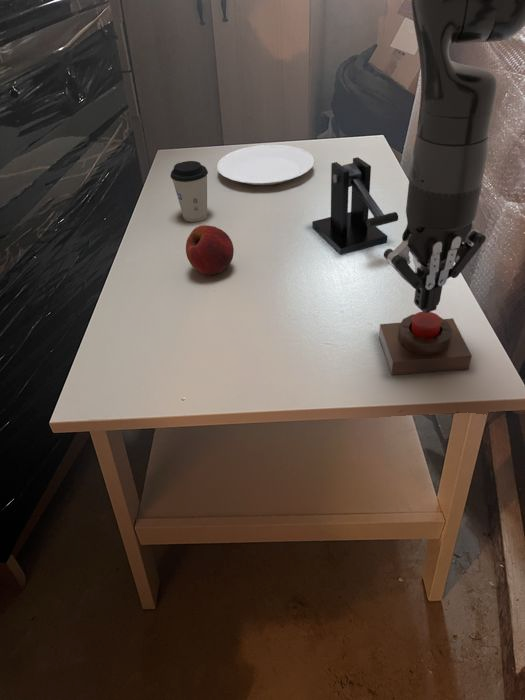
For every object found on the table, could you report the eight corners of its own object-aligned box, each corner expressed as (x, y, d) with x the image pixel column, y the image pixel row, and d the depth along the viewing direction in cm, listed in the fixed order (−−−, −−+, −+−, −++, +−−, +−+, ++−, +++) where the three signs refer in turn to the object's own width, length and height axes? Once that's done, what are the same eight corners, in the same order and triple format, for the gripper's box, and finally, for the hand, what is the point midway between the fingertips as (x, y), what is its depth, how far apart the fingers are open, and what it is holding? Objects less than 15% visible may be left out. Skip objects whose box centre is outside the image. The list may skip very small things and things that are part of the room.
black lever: (396, 225, 93) (400, 213, 91) (368, 232, 91) (371, 221, 89) (358, 172, 99) (361, 160, 97) (332, 178, 98) (334, 166, 96)
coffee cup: (217, 208, 115) (211, 158, 109) (208, 225, 110) (201, 174, 103) (183, 207, 116) (175, 158, 110) (172, 224, 111) (163, 173, 105)
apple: (185, 264, 99) (177, 221, 94) (229, 254, 101) (224, 212, 96) (194, 286, 94) (187, 242, 89) (240, 276, 95) (236, 232, 90)
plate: (215, 159, 135) (214, 149, 133) (305, 150, 136) (305, 140, 134) (220, 198, 119) (219, 187, 117) (323, 187, 120) (323, 176, 118)
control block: (450, 330, 81) (454, 307, 79) (469, 368, 75) (474, 344, 72) (378, 336, 81) (380, 313, 79) (391, 375, 75) (393, 351, 72)
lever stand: (387, 242, 101) (393, 170, 93) (340, 254, 99) (342, 182, 91) (355, 216, 109) (358, 148, 101) (312, 227, 107) (311, 158, 99)
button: (435, 321, 77) (437, 310, 76) (443, 337, 74) (445, 326, 73) (408, 323, 77) (409, 312, 76) (415, 340, 74) (416, 329, 73)
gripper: (412, 203, 58) (396, 339, 69) (520, 175, 61) (489, 310, 72) (373, 176, 63) (364, 306, 74) (474, 152, 67) (451, 280, 78)
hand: (426, 308), depth 73 cm, fingers closed
